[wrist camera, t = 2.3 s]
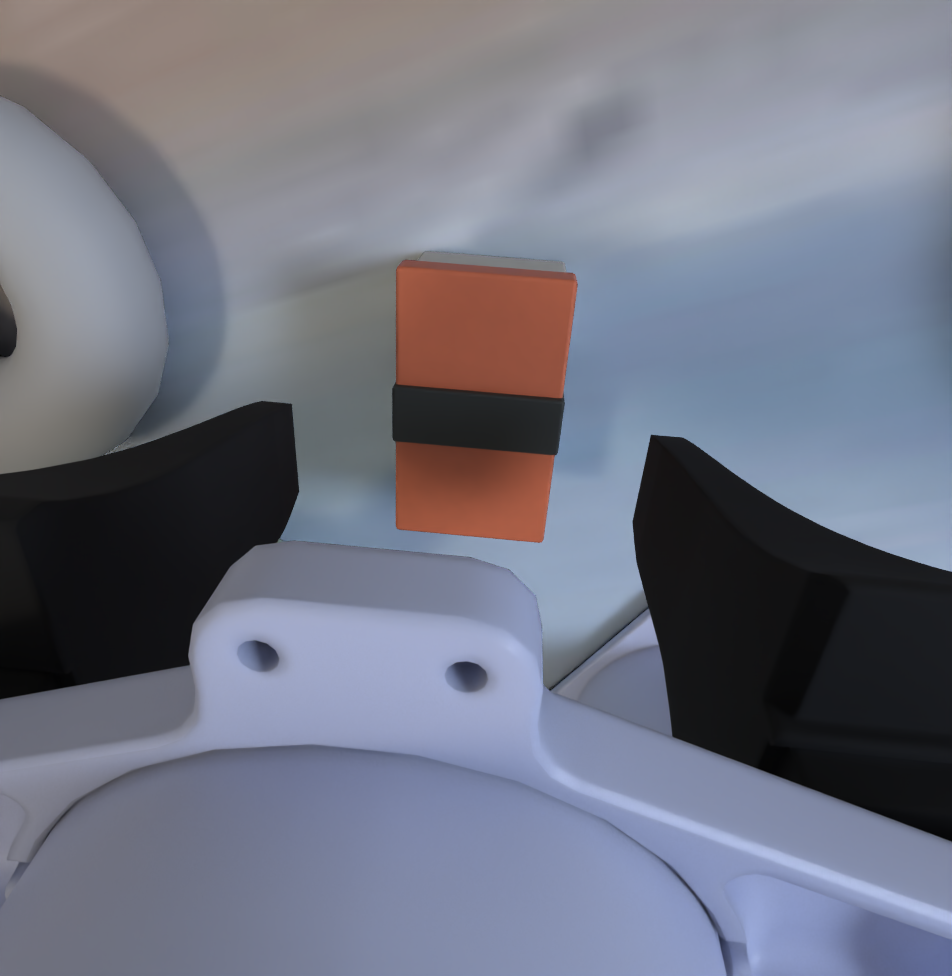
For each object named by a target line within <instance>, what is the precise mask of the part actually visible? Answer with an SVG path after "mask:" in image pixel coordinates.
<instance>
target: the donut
mask: <svg viewBox="0 0 952 976" xmlns="http://www.w3.org/2000/svg"><path fill="white" fill-rule="evenodd" d="M0 285H1V286H2V288H3V290H4V292H5V294H6V296H7V298H8V299H9V301H10V303H11V306H12V310H13V314H14V318H15V322H16V326H17V342H16V348H15V350H14V351H13V353H12V355H11V356H9V357H0V474H5V473H12V472H20V471H27V470H34V469H40V468H45V467H51V466H56V465H61V464H66V463H72V462H77V461H82V460H87V459H92V458H96V457H100V456H102V455H103V454H105V453H106V452H108V451H110V450H111V449H113V448H115V447H116V446H118V445H120V444H121V443H123V442H125V441H126V440H127V438H128V437H129V435H130V434H131V433H132V431H133V430H134V428H135V427H136V426H137V424H138V423H139V421H140V420H141V418H142V417H143V415H144V414H145V413H146V411H147V410H148V408H149V407H150V405H151V404H152V402H153V401H154V400H155V398H156V397H157V395H158V393H159V389H160V384H161V379H162V374H163V369H164V365H165V360H166V355H167V350H168V345H169V341H168V331H167V324H166V316H165V308H164V301H163V293H162V285H161V280H160V277H159V275H158V273H157V270H156V268H155V266H154V264H153V261H152V259H151V257H150V254H149V252H148V250H147V247H146V245H145V243H144V240H143V238H142V236H141V233H140V231H139V229H138V226H137V224H136V222H135V220H134V219H133V217H132V216H131V215H130V213H129V212H128V211H127V209H126V208H125V207H124V205H123V204H122V203H121V201H120V200H119V199H118V198H117V196H116V195H115V194H114V192H113V191H112V190H111V188H110V187H109V186H108V184H107V183H106V182H105V180H104V179H103V178H102V176H101V175H100V174H99V172H98V171H97V170H96V168H95V167H94V166H93V164H92V163H91V162H90V161H89V160H88V159H87V158H85V157H84V156H83V155H82V154H81V153H79V152H78V151H77V150H76V149H74V148H73V147H72V146H71V145H70V144H68V143H67V142H66V141H65V140H64V139H62V138H61V137H60V136H59V135H57V134H56V133H55V132H54V131H53V130H51V129H50V128H49V127H48V126H47V125H45V124H44V123H43V122H42V121H40V120H39V119H38V118H37V117H36V116H34V115H33V114H32V113H31V112H30V111H28V110H27V109H26V108H25V107H23V106H21V105H19V104H17V103H15V102H12V101H10V100H8V99H6V98H4V97H2V96H0Z"/></svg>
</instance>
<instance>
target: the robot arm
mask: <svg viewBox="0 0 952 976" xmlns="http://www.w3.org/2000/svg"><path fill="white" fill-rule="evenodd" d="M298 493H299V485H298V473H297V461H296V449H295V437H294V425H293V413H292V404H289V403H277V402H266V401H261V402H256V403H252V404H249V405H246V406H243V407H240V408H237V409H235V410H232V411H229V412H227V413H224V414H222V415H219V416H217V417H214V418H212V419H210V420H207V421H205V422H202V423H200V424H197V425H195V426H192V427H190V428H187V429H184V430H182V431H179V432H176V433H173V434H170V435H168V436H165V437H162V438H159V439H157V440H154V441H151V442H148V443H145V444H142V445H139V446H136V447H133V448H129V449H126V450H123V451H119V452H115V453H111V454H107V455H104V456H100V457H96V458H92V459H87V460H82V461H77V462H72V463H66V464H61V465H56V466H51V467H45V468H40V469H34V470H27V471H20V472H12V473H5V474H0V976H952V572H950V571H946V570H942V569H938V568H935V567H931V566H928V565H925V564H921V563H918V562H915V561H912V560H909V559H905V558H902V557H899V556H896V555H893V554H890V553H887V552H885V551H882V550H879V549H876V548H873V547H871V546H868V545H866V544H863V543H861V542H858V541H856V540H853V539H851V538H848V537H846V536H843V535H841V534H839V533H836V532H834V531H832V530H830V529H827V528H825V527H823V526H821V525H819V524H817V523H815V522H813V521H811V520H809V519H807V518H805V517H803V516H801V515H799V514H798V513H796V512H794V511H792V510H790V509H788V508H786V507H785V506H783V505H781V504H780V503H778V502H776V501H775V500H773V499H771V498H770V497H768V496H767V495H765V494H764V493H762V492H760V491H759V490H757V489H756V488H754V487H753V486H751V485H750V484H748V483H747V482H745V481H744V480H742V479H741V478H740V477H738V476H737V475H735V474H734V473H733V472H731V471H730V470H728V469H727V468H726V467H724V466H723V465H722V464H720V463H719V462H718V461H716V460H715V459H714V458H712V457H711V456H710V455H708V454H707V453H705V452H704V451H703V450H701V449H700V448H699V447H697V446H696V445H694V444H693V443H691V442H690V441H688V440H686V439H684V438H681V437H670V436H658V435H651V438H650V442H649V447H648V452H647V457H646V461H645V466H644V471H643V475H642V480H641V485H640V490H639V494H638V499H637V504H636V508H635V513H634V518H633V532H634V543H635V552H636V561H637V565H638V569H639V573H640V577H641V581H642V585H643V589H644V592H645V596H646V600H647V603H648V607H649V608H648V609H647V610H646V611H645V612H643V613H642V614H641V615H640V616H639V617H637V618H636V619H635V620H634V621H633V622H632V623H630V624H629V625H628V626H627V627H626V628H624V629H623V630H622V631H621V632H620V633H619V634H617V635H616V636H615V637H614V638H613V639H611V640H610V641H609V642H608V643H607V644H605V645H604V646H603V647H602V648H601V649H600V650H598V651H597V652H596V653H595V654H594V655H592V656H591V657H590V658H589V659H588V660H587V661H585V662H584V663H583V664H582V665H581V666H579V667H578V668H577V669H576V670H575V671H574V672H572V673H571V674H570V675H569V676H568V677H566V678H565V679H564V680H563V681H562V682H560V683H559V684H558V685H557V686H556V687H555V688H553V689H552V690H551V691H549V690H548V689H547V688H546V687H545V686H544V685H543V661H542V624H541V619H540V614H539V609H538V604H537V599H536V595H535V594H534V593H533V592H532V591H531V590H530V589H529V588H528V587H526V586H525V585H524V584H523V583H522V582H521V581H520V580H519V579H518V578H517V577H516V576H515V575H514V574H513V573H512V572H511V571H510V570H509V569H506V568H502V567H499V566H496V565H493V564H490V563H487V562H484V561H480V560H477V559H474V558H471V557H463V556H452V555H442V554H431V553H420V552H410V551H399V550H388V549H378V548H367V547H356V546H346V545H335V544H324V543H314V542H303V541H288V542H280V543H277V542H278V540H279V538H280V536H281V535H282V533H283V531H284V529H285V527H286V525H287V522H288V520H289V517H290V515H291V512H292V510H293V507H294V504H295V501H296V499H297V496H298Z"/></svg>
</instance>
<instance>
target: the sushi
mask: <svg viewBox="0 0 952 976" xmlns="http://www.w3.org/2000/svg"><path fill="white" fill-rule="evenodd" d="M577 286H578V284H577V280H576V276H575V274H573V273H567V272H566V268H565V263H563V262H559V261H546V260H534V259H521V258H508V257H495V256H483V255H470V254H457V253H445V252H432V251H425V252H423V254H422V255H421V257H420V258H419V259H418V261H415V260H403V261H402V262H401V263H400V264H399V266H398V267H397V269H396V382H395V384H394V386H393V388H392V438H393V440H394V441H396V527H397V529H399V530H410V531H420V532H431V533H442V534H452V535H463V536H474V537H484V538H495V539H506V540H517V541H527V542H538V543H540V542H542V541H543V539H544V532H545V524H546V517H547V509H548V502H549V494H550V487H551V479H552V472H553V465H554V457H555V455H557V453H558V448H559V441H560V434H561V426H562V419H563V412H564V404H565V402H564V392H563V390H564V383H565V375H566V368H567V360H568V353H569V345H570V338H571V331H572V323H573V316H574V308H575V301H576V293H577Z"/></svg>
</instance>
